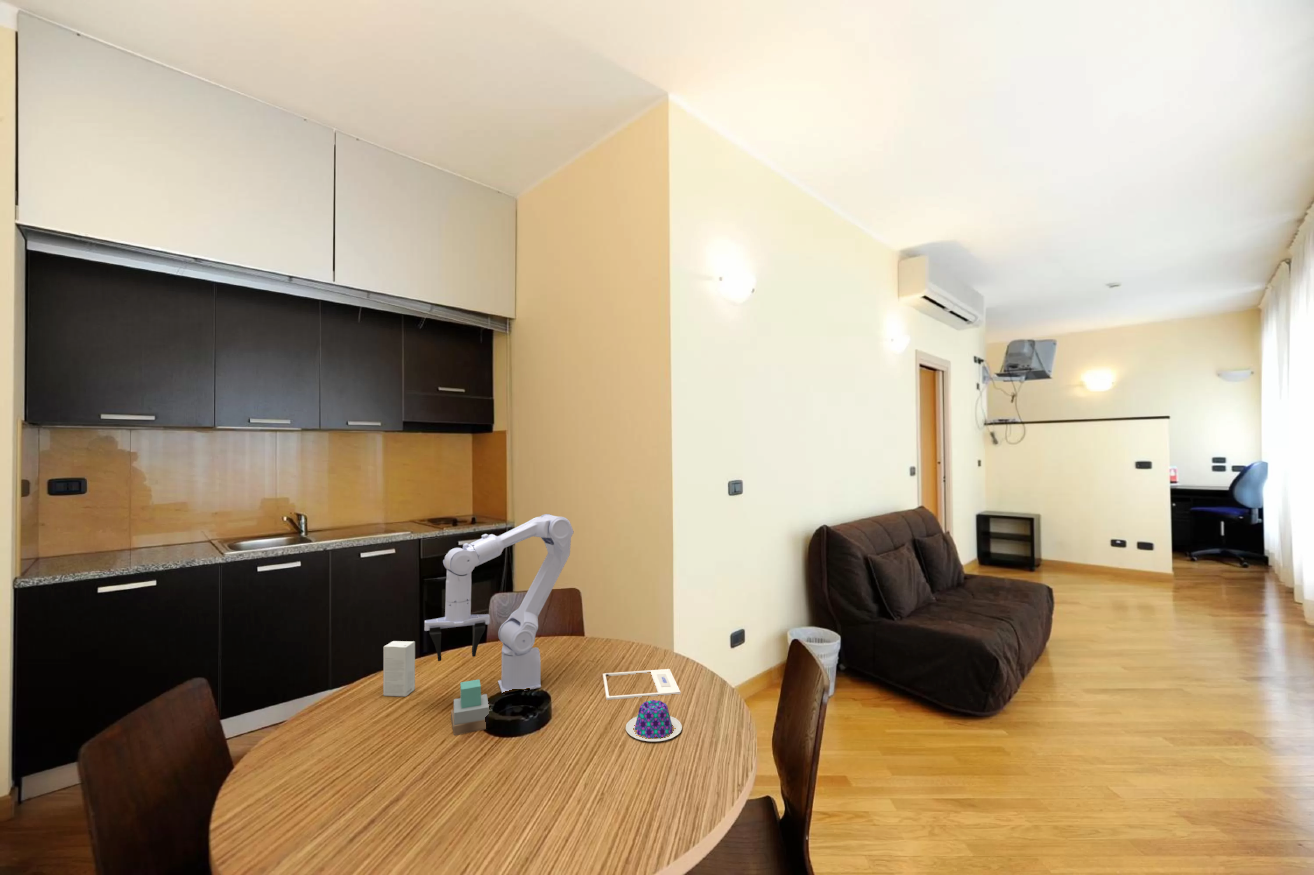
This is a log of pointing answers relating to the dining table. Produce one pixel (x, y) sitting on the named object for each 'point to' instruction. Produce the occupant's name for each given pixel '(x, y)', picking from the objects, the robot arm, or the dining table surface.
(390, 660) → the skincare box
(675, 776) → the dining table surface
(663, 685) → the photo frame
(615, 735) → the dining table surface
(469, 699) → the teal block
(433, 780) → the dining table surface
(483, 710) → the tower top
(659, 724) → the pudding
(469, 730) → the tower base
